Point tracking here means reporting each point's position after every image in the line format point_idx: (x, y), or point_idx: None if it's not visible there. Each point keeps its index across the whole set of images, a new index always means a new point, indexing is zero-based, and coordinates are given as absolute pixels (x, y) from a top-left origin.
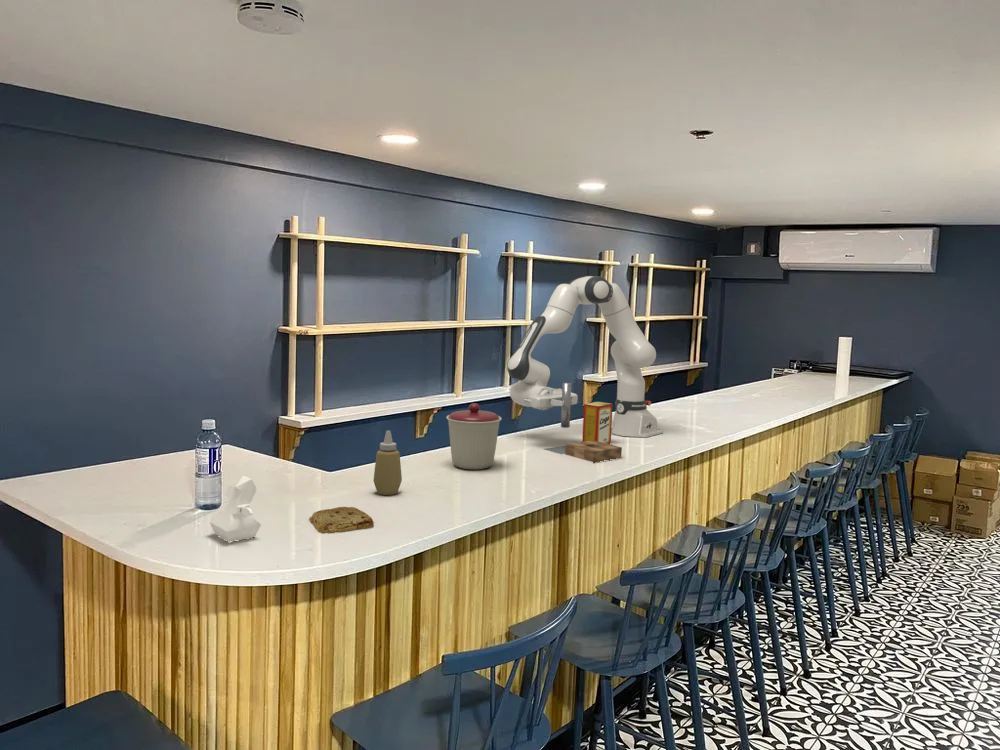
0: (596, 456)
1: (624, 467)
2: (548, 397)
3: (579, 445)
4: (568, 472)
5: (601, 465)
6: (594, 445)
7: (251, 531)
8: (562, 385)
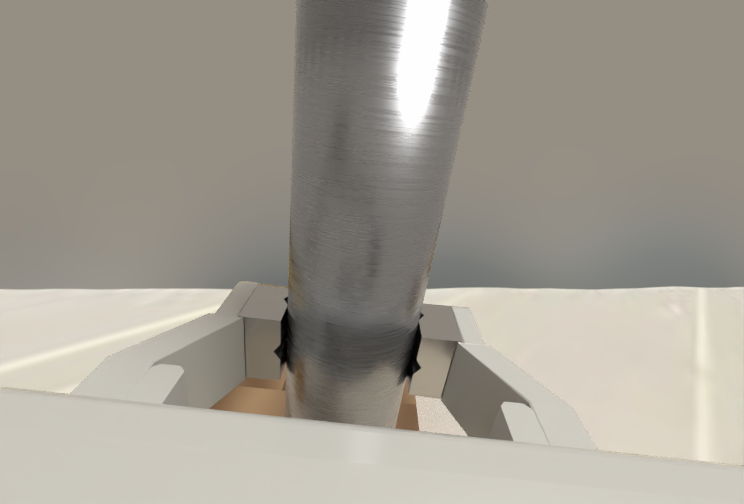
0: None
1: None
2: (716, 478)
3: None
4: (540, 341)
5: None
6: (282, 389)
7: None
8: (468, 59)
